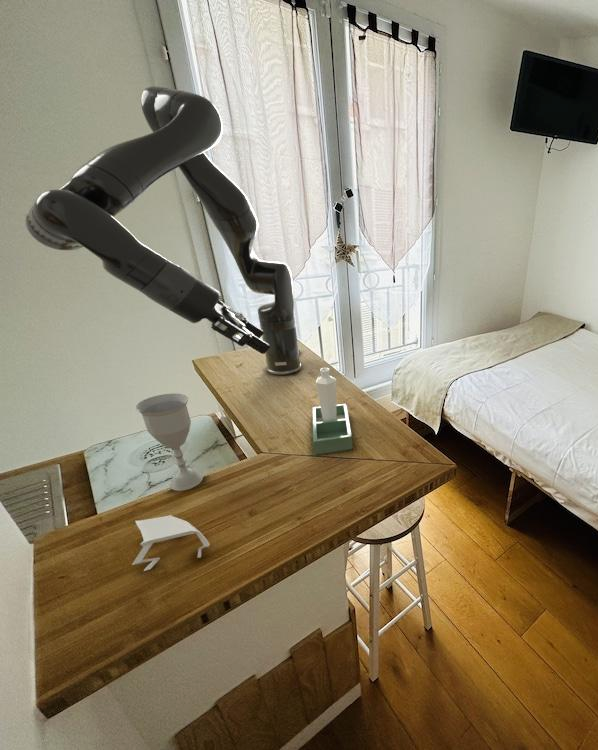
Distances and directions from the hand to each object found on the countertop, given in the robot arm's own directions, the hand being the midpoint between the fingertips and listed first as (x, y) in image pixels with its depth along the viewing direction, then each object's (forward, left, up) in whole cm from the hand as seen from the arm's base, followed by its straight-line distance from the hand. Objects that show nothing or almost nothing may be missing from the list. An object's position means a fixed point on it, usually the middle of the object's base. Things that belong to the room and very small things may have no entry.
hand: (263, 342), depth 83 cm
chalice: (+11, -16, -24) cm, 31 cm away
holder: (+1, +11, -24) cm, 27 cm away
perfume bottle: (-2, +11, -24) cm, 26 cm away
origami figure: (+29, -14, -24) cm, 40 cm away
